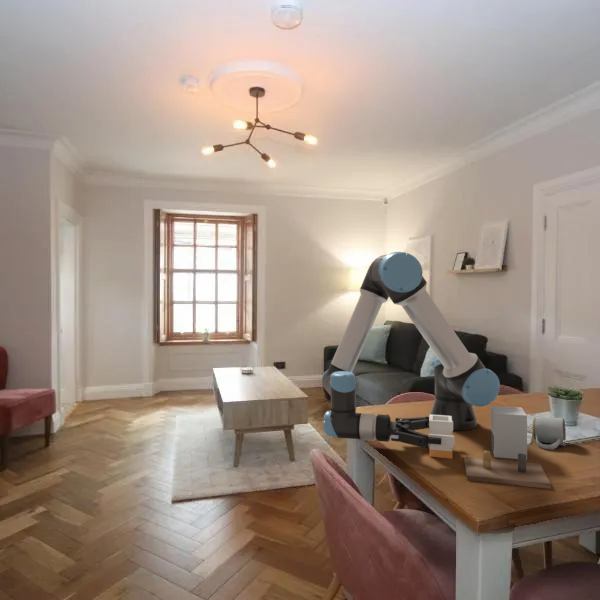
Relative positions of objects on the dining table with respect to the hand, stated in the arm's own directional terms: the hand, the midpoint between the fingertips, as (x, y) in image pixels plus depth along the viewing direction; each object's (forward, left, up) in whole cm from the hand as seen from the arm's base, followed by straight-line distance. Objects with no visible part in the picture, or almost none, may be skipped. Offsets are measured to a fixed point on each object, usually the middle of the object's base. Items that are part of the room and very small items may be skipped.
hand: (454, 433), depth 122 cm
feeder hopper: (-5, +14, -6) cm, 16 cm away
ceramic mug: (-16, +27, -6) cm, 32 cm away
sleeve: (0, -4, -6) cm, 7 cm away
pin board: (+10, +11, -6) cm, 16 cm away
